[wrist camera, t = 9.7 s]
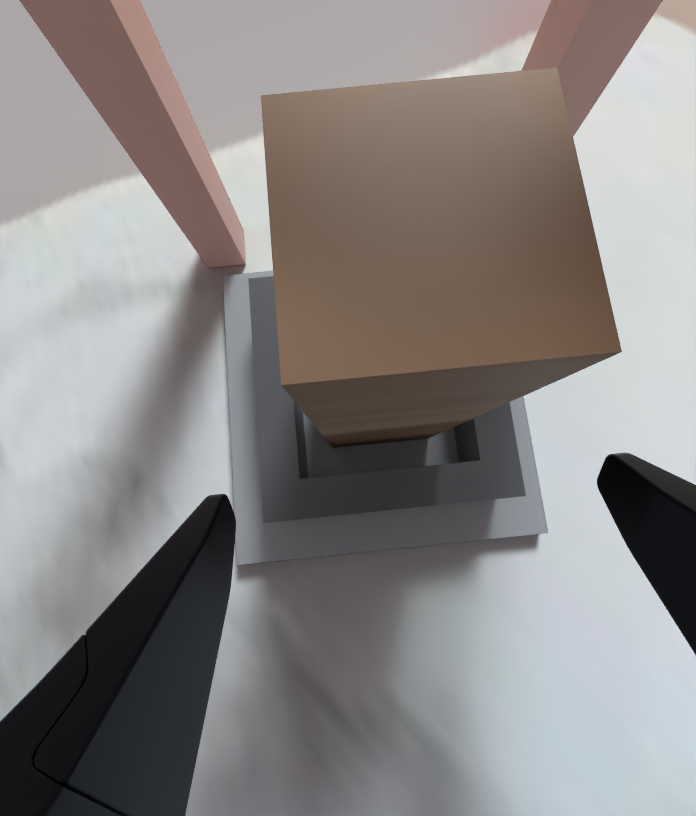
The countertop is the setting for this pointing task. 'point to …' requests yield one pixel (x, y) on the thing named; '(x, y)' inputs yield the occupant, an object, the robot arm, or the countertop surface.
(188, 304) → the countertop surface
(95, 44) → the pink arch frame
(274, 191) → the walnut peg
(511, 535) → the socket
